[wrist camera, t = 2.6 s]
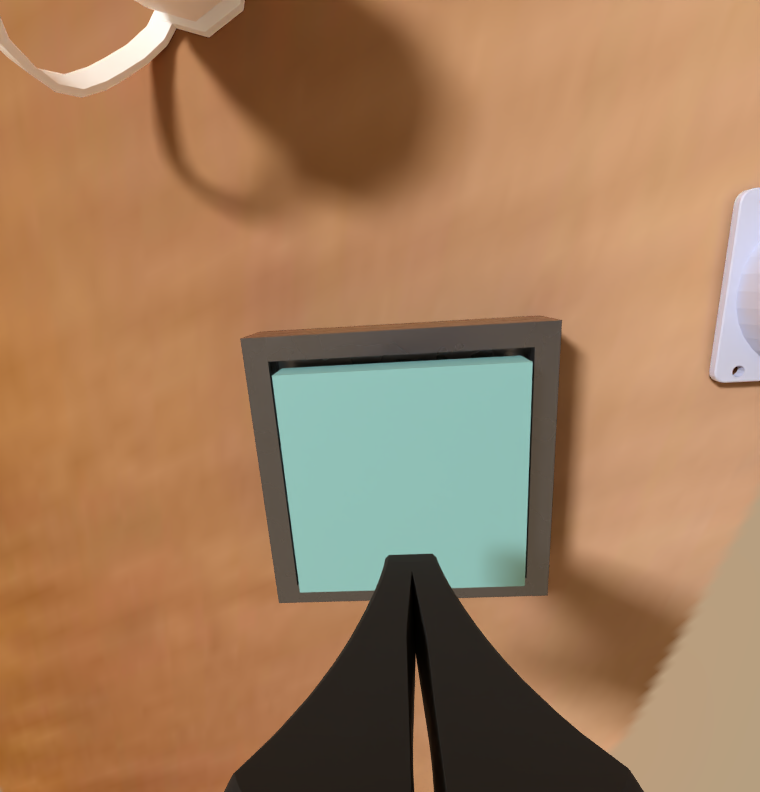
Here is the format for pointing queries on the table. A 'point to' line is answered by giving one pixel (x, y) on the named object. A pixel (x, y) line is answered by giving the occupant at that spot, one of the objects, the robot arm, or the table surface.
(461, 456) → the plate
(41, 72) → the cup
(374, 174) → the table surface
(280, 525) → the plate housing
